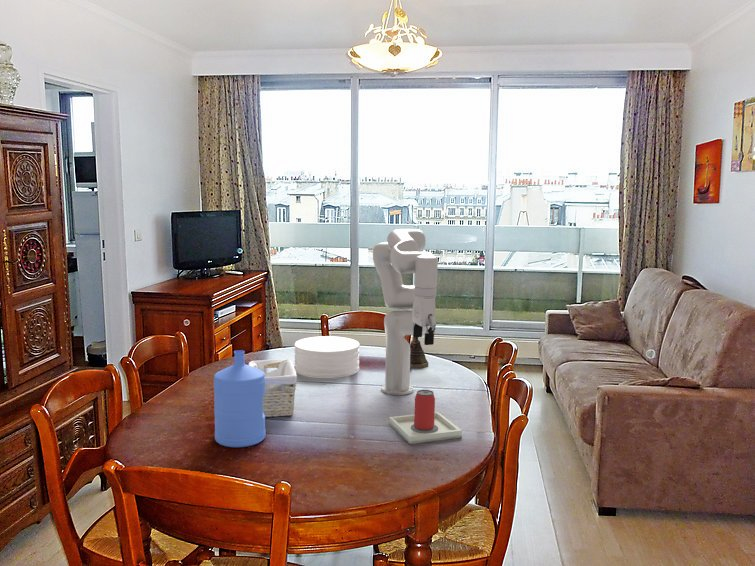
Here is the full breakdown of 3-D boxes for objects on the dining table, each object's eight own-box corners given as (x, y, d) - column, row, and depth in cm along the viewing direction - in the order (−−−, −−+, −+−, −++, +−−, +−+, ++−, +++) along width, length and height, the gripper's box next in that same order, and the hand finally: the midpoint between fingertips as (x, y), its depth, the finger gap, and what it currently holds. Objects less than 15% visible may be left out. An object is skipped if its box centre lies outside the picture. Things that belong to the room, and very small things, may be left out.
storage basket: (248, 397, 242) (247, 359, 240) (292, 395, 245) (291, 357, 243) (249, 420, 219) (249, 378, 217) (297, 417, 222) (297, 375, 220)
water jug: (241, 452, 192) (240, 361, 188) (203, 441, 200) (201, 353, 196) (276, 436, 205) (275, 350, 201) (239, 425, 213) (238, 343, 209)
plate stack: (357, 379, 268) (358, 352, 266) (290, 377, 268) (290, 350, 266) (360, 361, 296) (360, 336, 294) (299, 360, 296) (299, 335, 294)
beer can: (436, 425, 214) (438, 390, 212) (430, 432, 208) (431, 396, 206) (418, 422, 216) (419, 387, 215) (410, 429, 210) (411, 393, 209)
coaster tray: (388, 424, 217) (389, 417, 217) (437, 418, 223) (437, 411, 223) (409, 444, 201) (409, 436, 200) (461, 437, 207) (461, 430, 206)
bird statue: (437, 370, 282) (439, 291, 277) (408, 371, 280) (410, 291, 274) (428, 360, 298) (430, 285, 293) (400, 361, 296) (402, 285, 291)
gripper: (405, 287, 225) (403, 334, 228) (425, 297, 209) (423, 348, 212) (425, 286, 228) (423, 333, 231) (446, 296, 212) (443, 346, 215)
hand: (423, 340), depth 222 cm, fingers open, 9 cm apart
